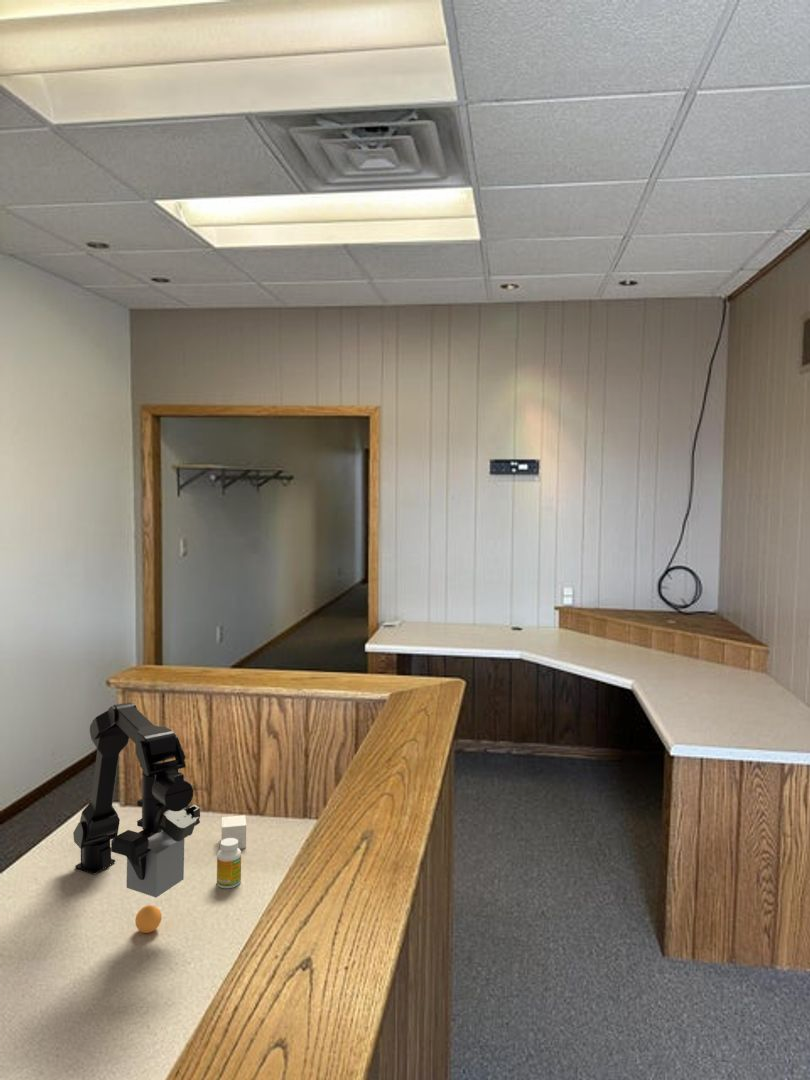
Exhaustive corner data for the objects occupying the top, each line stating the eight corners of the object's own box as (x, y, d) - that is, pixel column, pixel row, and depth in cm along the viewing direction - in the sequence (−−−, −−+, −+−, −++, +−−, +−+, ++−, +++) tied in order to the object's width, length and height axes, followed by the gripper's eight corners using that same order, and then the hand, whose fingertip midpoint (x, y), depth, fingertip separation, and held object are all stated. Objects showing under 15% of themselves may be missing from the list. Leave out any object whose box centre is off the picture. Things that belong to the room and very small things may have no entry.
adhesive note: (246, 848, 182) (246, 825, 182) (221, 850, 181) (221, 827, 181) (245, 837, 188) (245, 815, 188) (221, 839, 187) (221, 817, 186)
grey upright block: (126, 887, 144) (127, 844, 143) (154, 870, 151) (155, 829, 150) (156, 897, 140) (157, 853, 140) (183, 879, 147) (184, 837, 147)
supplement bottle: (234, 890, 162) (235, 848, 162) (212, 887, 163) (213, 845, 163) (244, 878, 168) (245, 837, 167) (223, 875, 169) (223, 835, 168)
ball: (151, 932, 142) (136, 941, 144) (170, 920, 147) (155, 929, 149) (141, 908, 144) (126, 917, 146) (159, 897, 148) (145, 906, 150)
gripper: (154, 820, 133) (153, 903, 133) (219, 785, 150) (218, 858, 150) (109, 808, 137) (108, 888, 138) (177, 776, 154) (176, 847, 155)
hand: (156, 870), depth 145 cm, fingers closed on grey upright block, 8 cm apart
